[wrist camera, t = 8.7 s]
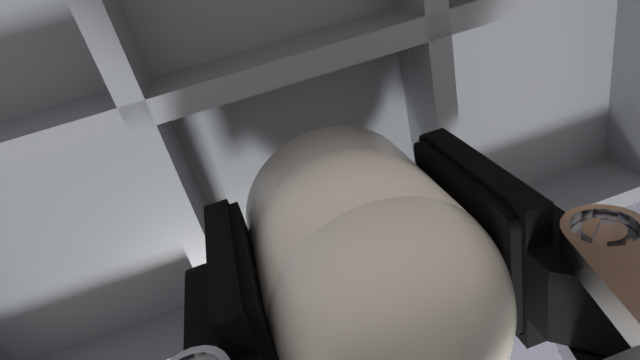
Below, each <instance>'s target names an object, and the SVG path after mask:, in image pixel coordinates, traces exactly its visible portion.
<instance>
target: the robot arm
mask: <svg viewBox="0 0 640 360" xmlns="http://www.w3.org/2000/svg"><path fill="white" fill-rule="evenodd" d="M414 156H415V162H416V165H417V166H418V167H419V168H420V169H421V170H423V171H424V172H425V173H426V174H427V175H428V176H429V177H430V178H431V179H432V180H433V181H434V182H435V183H437V184H438V185H439V186H440V187H441V188H442V189H443V190H444V191H445V192H446V193H447V194H448V195H450V196H451V197H452V198H453V199H454V200H455V201H456V202H457V203H458V204H459V205H460V206H461V207H462V208H464V209H465V210H466V211H467V212H468V213H469V214H470V215H471V216H472V217H473V218H474V219H475V220H476V221H477V222H478V223H479V224H480V225H481V226H482V227H483V228H484V229H485V231H486V232H487V233H488V234H489V236H490V237H491V238H492V240H493V241H494V243H495V244H496V246H497V248H498V249H499V251H500V253H501V255H502V257H503V259H504V261H505V263H506V266H507V268H508V271H509V273H510V277H511V280H512V283H513V288H514V293H515V299H516V311H517V324H516V334H515V335H516V336H517V337H518V338H519V339H520V341H521V342H522V343H523V344H524V345H525V346H526V348H530V347H532V346H535V345H537V344H540V343H542V342H545V341H549V342H553V343H556V346H557V348H558V351H559V353H560V355H561V356H562V358H563V360H640V215H639V214H637V213H636V212H634V211H631V210H629V209H626V208H623V207H619V206H614V205H608V204H590V205H582V206H579V207H576V208H573V209H571V210H569V211H568V212H565V211H563V210H562V209H560V208H559V207H557V206H556V205H554V202H552V201H551V200H549V199H548V198H546V197H545V196H543V195H542V194H540V193H539V192H538V191H536V190H535V189H533V188H532V187H530V186H529V185H527V184H526V183H524V182H523V181H521V180H520V179H518V178H517V177H515V176H514V175H512V174H511V173H509V172H508V171H506V170H505V169H503V168H502V167H501V166H499V165H498V164H496V163H495V162H493V161H492V160H490V159H489V158H487V157H486V156H484V155H483V154H481V153H480V152H478V151H477V150H475V149H474V148H472V147H471V146H469V145H468V144H466V143H465V142H464V141H462V140H461V139H459V138H458V137H456V136H455V135H453V134H452V133H450V132H449V131H447V130H446V129H444V128H440V129H437V130H434V131H431V132H428V133H425V134H422V135H420V137H419V142H416V143H414ZM204 225H205V246H206V263H205V264H202V265H199V266H196V267H193V268H190V269H187V270H186V272H185V295H184V343H183V351H182V352H180V353H178V354H177V355H175V356H174V357H172V358H171V359H169V360H278V357H277V354H276V351H275V348H274V344H273V341H272V338H271V334H270V330H269V326H268V322H267V318H266V313H265V308H264V303H263V298H262V293H261V289H260V284H259V279H258V274H257V269H256V264H255V260H254V255H253V250H252V245H251V240H250V235H249V231H248V228H247V225H246V222H245V220H244V217H243V214H242V212H241V209H240V207H239V204H238V202H234V203H231V204H229V202H228V200H227V199H224V200H221V201H218V202H215V203H212V204H209V205H206V206H204Z"/></svg>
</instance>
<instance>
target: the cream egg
mask: <svg viewBox="0 0 640 360" xmlns="http://www.w3.org/2000/svg"><path fill="white" fill-rule="evenodd" d="M246 222H247V228H248V231H249V235H250V240H251V245H252V250H253V255H254V260H255V264H256V269H257V274H258V279H259V284H260V289H261V293H262V298H263V303H264V308H265V313H266V318H267V322H268V326H269V330H270V334H271V338H272V341H273V344H274V348H275V351H276V354H277V357H278V360H509V359H510V356H511V354H512V350H513V345H514V340H515V334H516V324H517V311H516V299H515V293H514V288H513V283H512V280H511V277H510V273H509V271H508V268H507V266H506V263H505V261H504V259H503V257H502V255H501V253H500V251H499V249H498V248H497V246H496V244H495V243H494V241H493V240H492V238H491V237H490V236H489V234H488V233H487V232H486V231H485V229H484V228H483V227H482V226H481V225H480V224H479V223H478V222H477V221H476V220H475V219H474V218H473V217H472V216H471V215H470V214H469V213H468V212H467V211H466V210H465V209H464V208H462V207H461V206H460V205H459V204H458V203H457V202H456V201H455V200H454V199H453V198H452V197H451V196H450V195H448V194H447V193H446V192H445V191H444V190H443V189H442V188H441V187H440V186H439V185H438V184H437V183H435V182H434V181H433V180H432V179H431V178H430V177H429V176H428V175H427V174H426V173H425V172H424V171H423V170H421V169H420V168H419V167H418V166H417V165H416V164H415V163H414V162H413V161H412V160H411V159H410V158H409V157H407V156H406V155H405V154H404V153H403V152H402V151H401V150H400V149H399V148H398V147H397V146H396V145H394V144H393V143H392V142H391V141H390V140H389V139H387V138H385V137H384V136H382V135H381V134H379V133H376V132H374V131H372V130H369V129H366V128H362V127H357V126H350V125H336V126H328V127H322V128H318V129H315V130H311V131H309V132H306V133H304V134H301V135H299V136H298V137H296V138H294V139H292V140H290V141H289V142H287V143H286V144H285V145H283V146H282V147H280V148H279V149H278V150H277V151H276V152H275V153H274V154H273V155H271V156H270V158H269V159H268V160H267V161H266V162H265V163H264V165H263V166H262V167H261V169H260V170H259V172H258V174H257V175H256V177H255V179H254V181H253V183H252V185H251V188H250V191H249V195H248V199H247V205H246Z"/></svg>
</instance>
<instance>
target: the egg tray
mask: <svg viewBox="0 0 640 360" xmlns="http://www.w3.org/2000/svg"><path fill="white" fill-rule="evenodd" d="M336 125H350V126H357V127H362V128H366V129H369V130H372V131H374V132H376V133H379V134H381V135H382V136H384V137H385V138H387V139H389V140H390V141H391V142H392V143H393V144H394V145H396V146H397V147H398V148H399V149H400V150H401V151H402V152H403V153H404V154H405V155H406V156H407V157H409V158H410V159H411V160H412V161H413V162H414V163H415V164H416V162H415V156H414V143H416V142H419V137H420V135H422V134H425V133H428V132H431V131H434V130H437V129H440V128H444V129H446V130H447V131H449V132H450V133H452V134H453V135H455V136H456V137H458V138H459V139H461V140H462V141H464V142H465V143H466V144H468V145H469V146H471V147H472V148H474V149H475V150H477V151H478V152H480V153H481V154H483V155H484V156H486V157H487V158H489V159H490V160H492V161H493V162H495V163H496V164H498V165H499V166H501V167H502V168H503V169H505V170H506V171H508V172H509V173H511V174H512V175H514V176H515V177H517V178H518V179H520V180H521V181H523V182H524V183H526V184H527V185H529V186H530V187H532V188H533V189H535V190H536V191H538V192H539V193H540V194H542V195H543V196H545V197H546V198H548V199H549V200H551V201H552V202H554V205H556V206H557V207H559V208H560V209H562V210H563V211H565V212H568V211H569V210H571V209H573V208H576V207H579V206H582V205H590V204H608V205H614V206H619V207H623V208H624V207H626V206H629V205H632V204H634V203H637V202H640V0H0V360H169V359H171V358H172V357H174V356H175V355H177V354H178V353H180V352H182V351H183V343H184V295H185V272H186V270H187V269H190V268H193V267H196V266H199V265H202V264H205V263H206V246H205V225H204V206H206V205H209V204H212V203H215V202H218V201H221V200H224V199H227V200H228V202H229V204H231V203H234V202H238V204H239V207H240V209H241V212H242V214H243V217H244V220H245V222H246V205H247V199H248V195H249V191H250V188H251V185H252V183H253V181H254V179H255V177H256V175H257V174H258V172H259V170H260V169H261V167H262V166H263V165H264V163H265V162H266V161H267V160H268V159H269V158H270V156H271V155H273V154H274V153H275V152H276V151H277V150H278V149H279V148H280V147H282V146H283V145H285V144H286V143H287V142H289V141H290V140H292V139H294V138H296V137H298V136H299V135H301V134H304V133H306V132H309V131H311V130H315V129H318V128H322V127H328V126H336ZM246 225H247V222H246Z"/></svg>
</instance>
